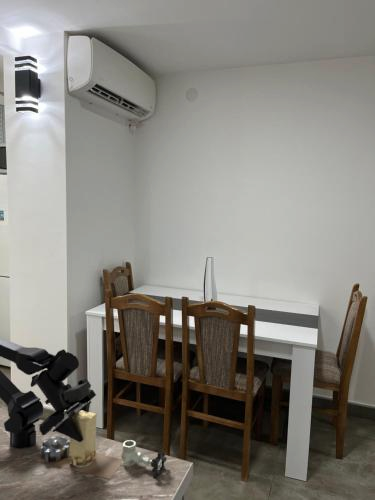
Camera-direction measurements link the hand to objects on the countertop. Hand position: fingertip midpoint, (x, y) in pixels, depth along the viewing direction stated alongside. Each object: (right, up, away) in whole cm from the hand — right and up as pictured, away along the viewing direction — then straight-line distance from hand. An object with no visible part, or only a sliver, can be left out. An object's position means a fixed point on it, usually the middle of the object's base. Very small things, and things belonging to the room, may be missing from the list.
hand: (87, 436), depth 106 cm
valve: (+15, -9, 0) cm, 17 cm away
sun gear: (-10, -7, +3) cm, 12 cm away
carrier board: (-3, -8, +1) cm, 9 cm away
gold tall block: (-2, -6, +1) cm, 7 cm away
